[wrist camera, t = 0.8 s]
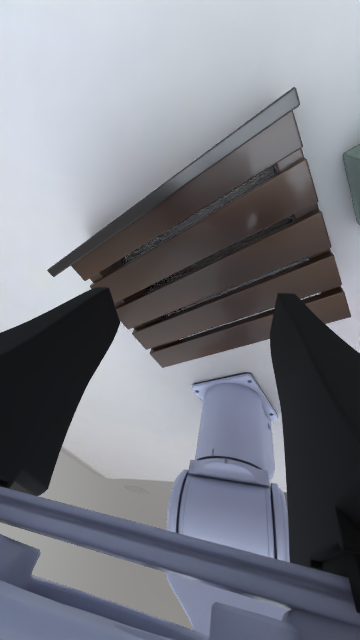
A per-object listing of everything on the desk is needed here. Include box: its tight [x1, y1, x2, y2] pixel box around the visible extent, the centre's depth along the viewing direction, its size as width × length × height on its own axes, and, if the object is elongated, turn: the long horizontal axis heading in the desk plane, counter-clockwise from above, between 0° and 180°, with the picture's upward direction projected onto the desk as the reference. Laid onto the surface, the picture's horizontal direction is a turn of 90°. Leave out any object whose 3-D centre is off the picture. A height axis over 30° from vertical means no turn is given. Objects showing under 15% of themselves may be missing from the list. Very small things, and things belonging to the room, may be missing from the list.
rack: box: [47, 87, 351, 368], centre depth 17 cm, size 13×16×6 cm
